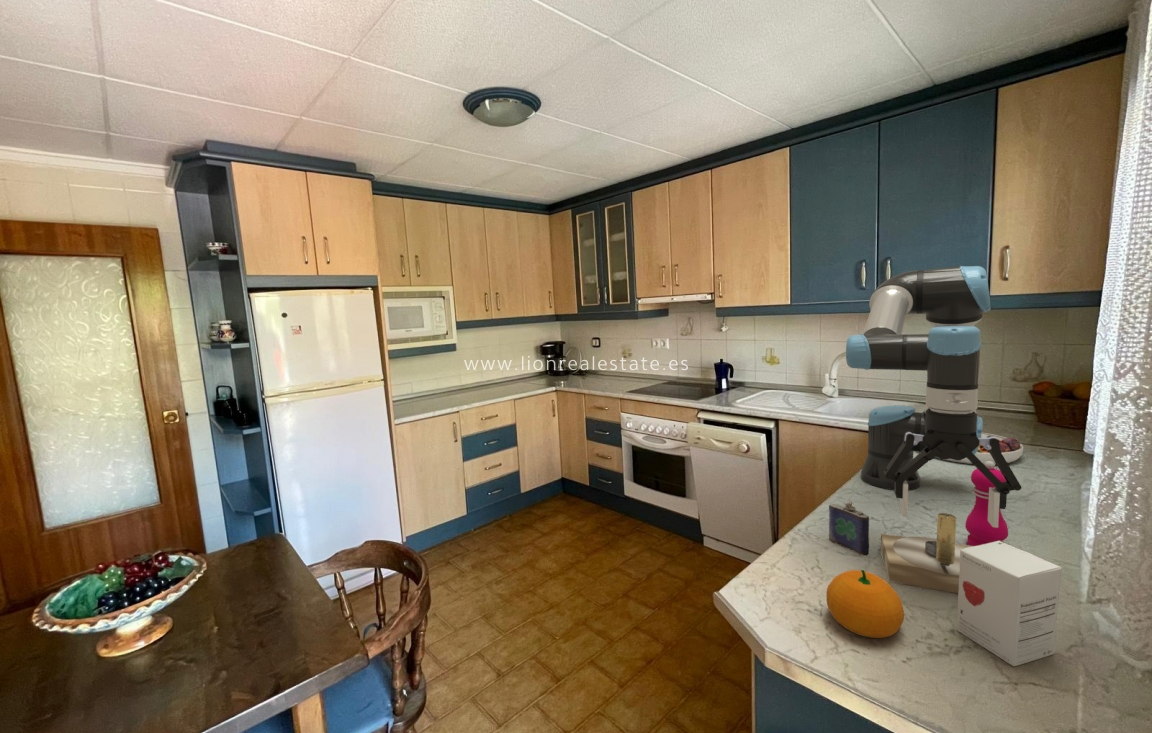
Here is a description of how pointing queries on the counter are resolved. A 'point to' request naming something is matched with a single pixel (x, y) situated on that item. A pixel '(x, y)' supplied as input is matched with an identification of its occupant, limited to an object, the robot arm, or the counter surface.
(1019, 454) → the bowl
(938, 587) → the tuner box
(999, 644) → the supplement box
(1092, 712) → the counter surface
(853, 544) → the flask
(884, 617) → the fruit
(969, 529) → the pepper mill
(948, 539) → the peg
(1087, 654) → the counter surface
